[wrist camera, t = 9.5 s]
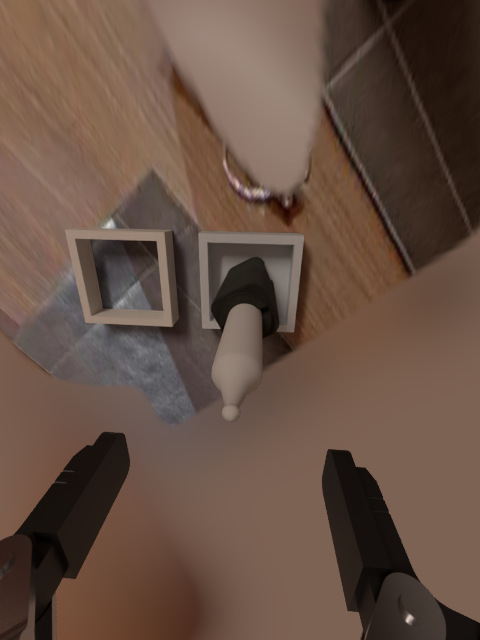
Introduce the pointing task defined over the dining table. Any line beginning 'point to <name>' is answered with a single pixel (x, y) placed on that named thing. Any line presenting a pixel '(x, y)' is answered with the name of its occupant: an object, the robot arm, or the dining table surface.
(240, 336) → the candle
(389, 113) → the dining table surface
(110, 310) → the grey frame
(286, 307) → the grey tray
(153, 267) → the dining table surface
